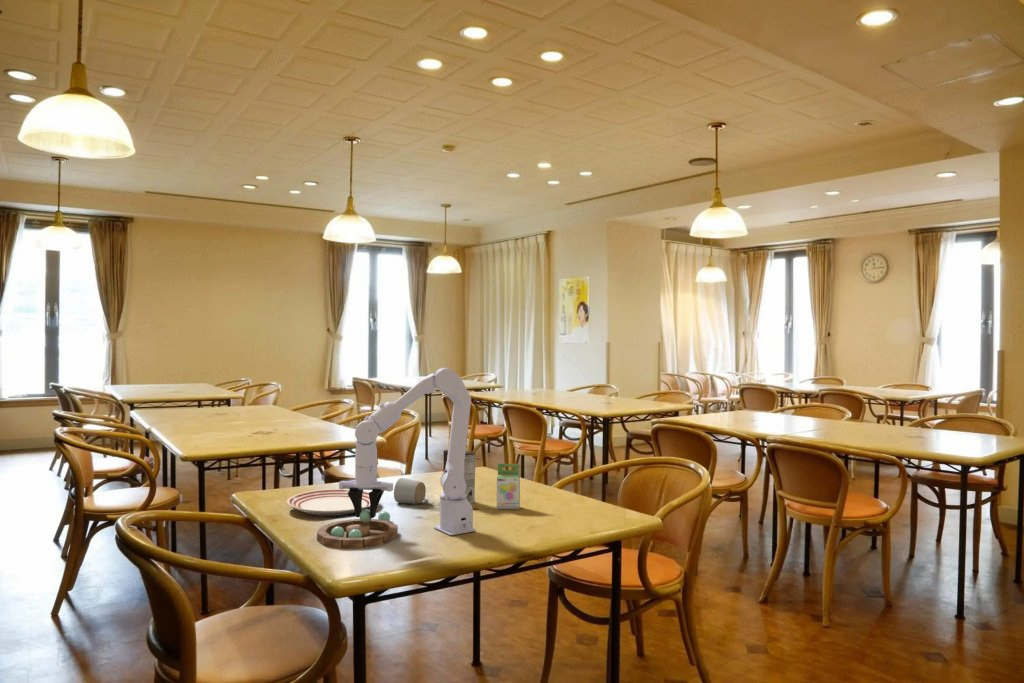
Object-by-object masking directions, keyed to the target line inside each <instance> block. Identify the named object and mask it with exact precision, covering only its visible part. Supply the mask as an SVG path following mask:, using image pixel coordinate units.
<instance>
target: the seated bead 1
mask: <svg viewBox="0 0 1024 683" xmlns="http://www.w3.org/2000/svg"><path fill="white" fill-rule="evenodd" d="M344 534H345V532H344V529H343V528H342V527H335V528H333V529H332V531H331V536H336V537H344Z"/></svg>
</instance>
